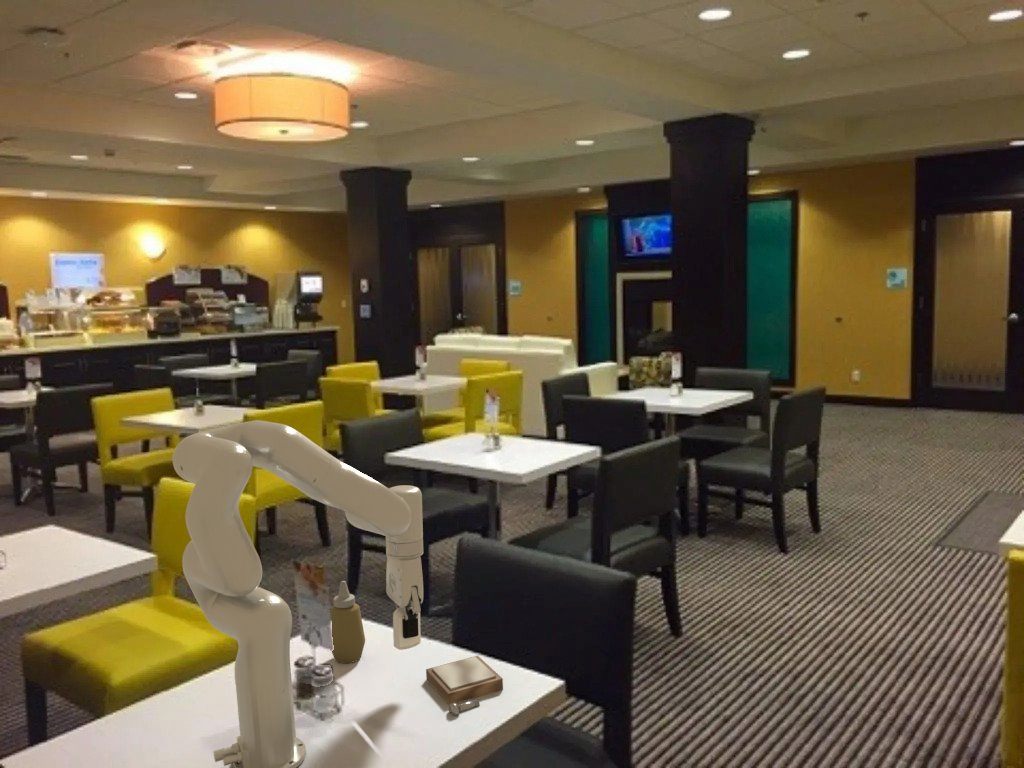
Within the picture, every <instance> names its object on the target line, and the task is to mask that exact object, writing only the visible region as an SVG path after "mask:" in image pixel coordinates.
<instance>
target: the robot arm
mask: <svg viewBox="0 0 1024 768" xmlns="http://www.w3.org/2000/svg"><path fill="white" fill-rule="evenodd" d="M172 465H173V468H174V470H175V472H176V474H177V475H178V476H179V477H180V478H182V479H183V480H184V481H187V482H189V483H191V484H194V486H193V489H192V491H191V493H190V496H189V499H188V501H187V506H186V509H185V524H186V525H185V526H186V529H187V533H188V535H189V537H190V539H191V540H190V541H189V542H188V543H187V544H186V546H185V549H184V551H183V554H182V559H181V560H182V561H181V564H182V566H181V567H182V571H183V575H184V578H185V579H186V582H187V583H188V585H189V588H190V590H191V591H192V594H193V595H194V598H195V599H196V603H198V605H199V607H200V609H201V611H202V612H203V615H204V616H205V618H206V620H207V621H208V623H209V624H210V625H211V626H212V628H214V629H215V630H218V631H219V632H221V633H222V634H225V635H227V636H229V637H230V638H232V639H233V640H236V642H237V644H238V650H237V653H236V658H235V662H234V683H235V691H236V692H235V693H236V700H237V701H236V703H237V712H238V713H237V714H238V723H239V725H238V726H239V736H237V737H236V742H234V743H231V746H228V747H223V748H219V749H216V750H213V751H212V752H213V759H214V763H218V762H221V761H223V766H225V767H226V766H230V765H232V764H233V768H298V767H299V766H300V765H301V764H302V763H303V762H304V760H305V759H306V755H307V748H306V744H305V742H304V741H303V740H302V739H300V738H299V737H297V733H296V732H297V731H296V721H295V720H296V718H295V708H294V706H295V705H294V695H293V683H292V672H291V670H292V669H291V655H290V651H291V650H290V648H291V636H292V630H293V616H292V611H291V608H290V607H289V605H288V604H287V602H286V601H285V600H284V599H283V598H282V597H281V596H279V595H278V594H275V593H273V592H272V591H269V590H266V589H264V588H262V587H259V586H260V583H261V581H262V579H263V565H262V562H261V561H262V560H261V559H260V556H259V554H258V552H257V550H256V548H255V546H254V543H253V541H252V539H251V537H250V535H249V533H248V531H247V528H246V526H245V524H244V522H243V520H242V516H241V513H240V508H239V507H240V500H241V498H242V497H241V496H242V494H243V492H244V489H245V488H246V485H247V484H248V482H249V480H250V477H251V475H252V472H253V471H252V470H253V467H255V468H258V469H259V468H260V469H264V470H266V471H268V472H270V473H272V474H274V475H275V477H278V478H279V479H281V480H283V481H284V482H286V483H288V484H289V485H291V486H293V487H294V488H296V489H297V490H298V491H300V492H302V493H303V494H304V495H306V496H307V497H309V498H311V499H312V500H314V501H317V502H319V503H322V504H323V505H325V506H328V507H333V508H334V509H339V510H341V511H344V515H345V518H346V520H347V522H349V524H350V525H351V526H353V527H355V528H357V529H360V530H363V531H368V532H371V533H374V534H377V535H378V534H379V535H382V536H385V554H386V557H387V558H386V568H385V569H386V571H385V572H386V576H385V577H386V578H385V580H386V581H385V586H386V588H385V592H386V595H387V597H389V598H390V600H391V601H393V602H394V611H395V610H396V609H397V608H399V607H401V608H403V611H404V619H402V626H403V638H404V639H406V638H411V637H416V636H418V617H419V615H418V613H419V612H420V613H421V612H422V611H421V605H422V603H423V601H424V580H423V579H424V577H423V569H422V567H423V566H422V558H421V556H422V555H423V554H424V531H423V530H424V528H423V526H424V525H423V495H422V491H421V489H420V488H419V487H418V486H414V485H406V484H405V485H396V486H392V487H387V486H385V485H384V484H382V483H380V482H379V481H377V480H375V479H373V477H370V476H368V475H367V474H364V473H362V472H360V471H359V470H357V469H356V468H354V467H352V466H351V465H348V464H347V463H344V462H343V461H341V460H340V459H338V458H336V457H335V456H333V454H331V453H329V452H328V451H326V450H325V449H323V448H322V447H321V446H319V445H318V444H316V443H315V442H313V441H312V440H311V439H310V438H308V437H307V436H305V435H304V434H303V433H301V432H300V431H298V430H296V429H295V428H293V427H291V426H289V425H287V424H283V423H278V422H272V421H267V420H261V419H260V420H259V419H256V420H250V421H245V422H240V423H236V424H230V425H226V426H222V427H217V428H213V429H209V430H204V431H203V430H202V431H200V432H196V433H193V434H191V435H188V436H186V437H184V438H183V439H182V440H180V442H179V443H178V444H177V445H176V447H175V449H174V451H173V453H172ZM409 601H411V603H409ZM409 607H412V608H411V609H409V611H408V608H409Z"/></svg>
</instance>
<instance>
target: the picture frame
mask: <svg viewBox="0 0 1024 768" xmlns="http://www.w3.org/2000/svg"><path fill="white" fill-rule="evenodd" d="M425 676H426V681H427V682H428V683H429V684H430V686H431V687H432V688H433V689H434V690H435V691H436V692H437V693H438V694H439V696H440V697H441V698H442V699H443V700H444V702H446V704H447V705H449V704H451V703H457V704H459V703H461V702H464V701H468V700H471V699H475V698H478V697H482V696H485V695H488V694H492V693H496V692H498V691H502V690H504V683H503V679H504V678H503V677H502V676H501V675H500V674H498V673H497V671H495V670H494V669H493V668H492V667H491V666H490V665H489V664H487V662H485V661H484V660H483V658H481V657H480V656H479V655H474V656H471V657H468V658H463V659H459V660H456V661H451V662H449V663H448V662H447V663H445V664H442V665H438V666H433V667H429V668H426V669H425Z"/></svg>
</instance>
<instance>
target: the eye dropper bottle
mask: <svg viewBox="0 0 1024 768" xmlns="http://www.w3.org/2000/svg"><path fill="white" fill-rule="evenodd" d="M409 603H411V601H409ZM411 608H412V607H409V608H408V611H409V609H411ZM392 613H393V614H392V629H393V632H392V633H393V634H392V636H393V647H394V648H395V649H396V650H400V651H401V650H403V651H404V650H409V649H411V648H414V647H416V646H418V645H419V644H421V639H422V638H421V637H422V636H421V612H419V613H418V615H419V617H418V636H416V637H411V638H406V639H404V638H403V626H402V619H404V611H403V608H401V607H399V608H397V609H396V610H395V609H394V610H393V612H392Z"/></svg>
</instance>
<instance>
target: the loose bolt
mask: <svg viewBox="0 0 1024 768" xmlns="http://www.w3.org/2000/svg"><path fill="white" fill-rule="evenodd" d="M480 704H481V703H480V701H479V699H478V698H476V699H475V698H474V699H473V700H469V701H468V700H467V701H466V702H462V703H461V702H460V703H451V704H448V712H449V713H450V715H452V716H453V717H458V716H460V713H462V712H465V711H469V710H471V709H474V708H477V707H480Z"/></svg>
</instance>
